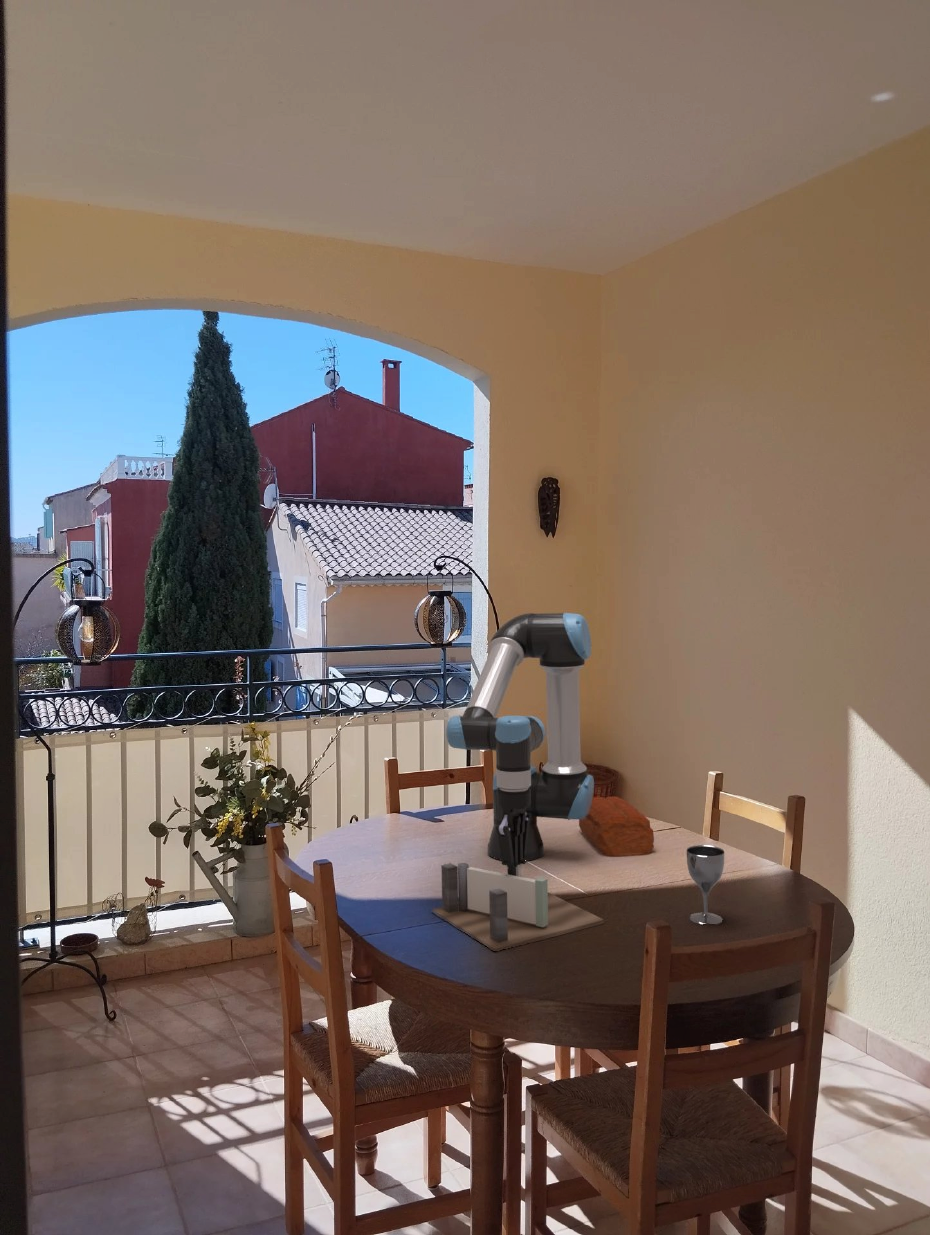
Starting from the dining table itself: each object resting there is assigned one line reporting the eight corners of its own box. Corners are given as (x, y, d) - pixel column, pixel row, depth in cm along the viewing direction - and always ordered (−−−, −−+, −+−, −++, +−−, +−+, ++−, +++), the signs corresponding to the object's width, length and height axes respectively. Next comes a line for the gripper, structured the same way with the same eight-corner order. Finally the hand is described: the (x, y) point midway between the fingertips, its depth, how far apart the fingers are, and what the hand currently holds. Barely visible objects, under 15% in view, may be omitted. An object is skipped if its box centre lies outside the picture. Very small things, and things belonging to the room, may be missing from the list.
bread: (627, 828, 279) (627, 792, 278) (658, 855, 253) (657, 815, 252) (576, 830, 277) (575, 795, 276) (601, 858, 250) (600, 819, 250)
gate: (456, 909, 212) (455, 864, 212) (462, 906, 214) (461, 861, 214) (542, 929, 200) (542, 881, 199) (548, 925, 202) (547, 878, 201)
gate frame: (432, 913, 213) (431, 865, 212) (534, 889, 227) (534, 844, 227) (494, 952, 191) (493, 899, 190) (604, 923, 205) (603, 874, 204)
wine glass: (725, 914, 209) (725, 846, 208) (723, 927, 201) (723, 857, 201) (688, 910, 212) (688, 844, 211) (685, 923, 204) (684, 854, 203)
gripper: (511, 779, 214) (512, 882, 216) (484, 792, 203) (485, 900, 205) (541, 783, 211) (542, 887, 212) (515, 796, 199) (516, 906, 201)
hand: (514, 893), depth 208 cm, fingers closed
